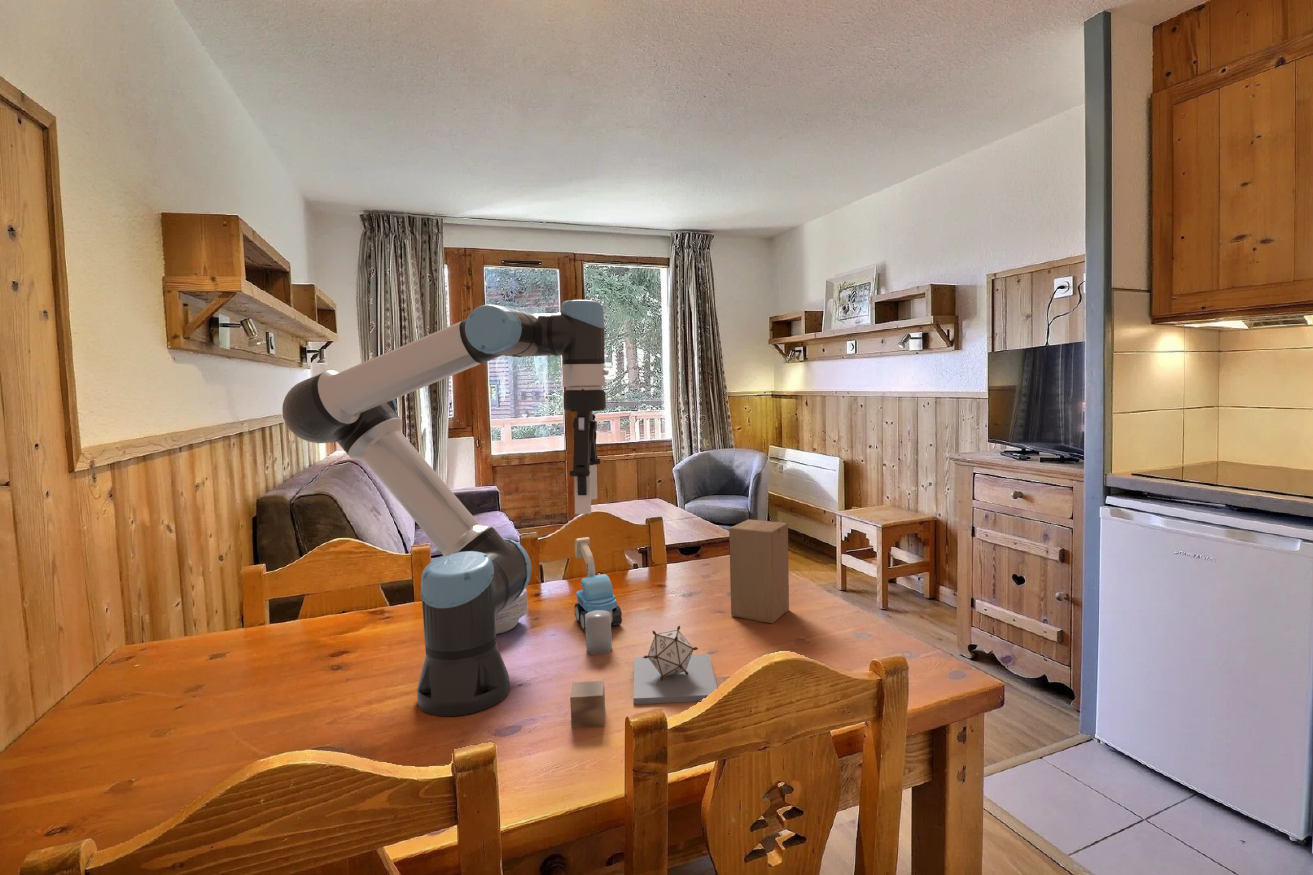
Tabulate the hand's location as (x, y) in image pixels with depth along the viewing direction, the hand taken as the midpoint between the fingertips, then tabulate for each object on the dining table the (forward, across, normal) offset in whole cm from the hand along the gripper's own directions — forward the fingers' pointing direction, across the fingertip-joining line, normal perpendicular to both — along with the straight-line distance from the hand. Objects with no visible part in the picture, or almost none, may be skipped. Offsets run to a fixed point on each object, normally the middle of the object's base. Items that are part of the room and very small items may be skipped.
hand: (586, 506), depth 119 cm
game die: (+29, -7, -15) cm, 33 cm away
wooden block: (+30, +24, -36) cm, 53 cm away
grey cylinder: (+30, +8, -1) cm, 31 cm away
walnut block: (+30, -19, -2) cm, 36 cm away
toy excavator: (+31, +25, +1) cm, 39 cm away
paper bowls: (+31, +21, +23) cm, 44 cm away
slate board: (+30, -7, -15) cm, 34 cm away
